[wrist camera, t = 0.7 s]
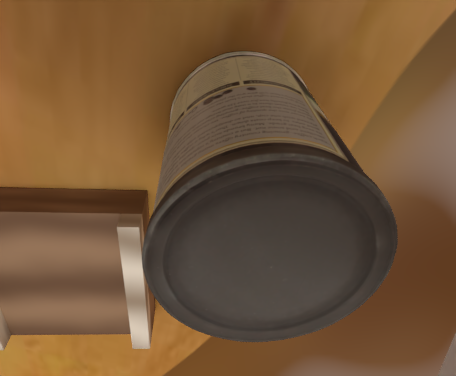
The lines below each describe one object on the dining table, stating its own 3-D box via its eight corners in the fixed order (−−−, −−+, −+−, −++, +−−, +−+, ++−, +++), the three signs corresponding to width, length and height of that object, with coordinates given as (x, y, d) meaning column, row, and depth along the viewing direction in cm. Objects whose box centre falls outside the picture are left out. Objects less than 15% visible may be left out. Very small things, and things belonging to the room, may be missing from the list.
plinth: (-40, 186, 29) (-77, 224, 25) (147, 190, 30) (139, 227, 26) (8, 307, 36) (-15, 350, 33) (155, 307, 38) (149, 348, 34)
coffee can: (344, 103, 27) (453, 236, 15) (256, 203, 31) (287, 366, 19) (222, 14, 23) (242, 96, 11) (143, 141, 27) (97, 296, 16)
